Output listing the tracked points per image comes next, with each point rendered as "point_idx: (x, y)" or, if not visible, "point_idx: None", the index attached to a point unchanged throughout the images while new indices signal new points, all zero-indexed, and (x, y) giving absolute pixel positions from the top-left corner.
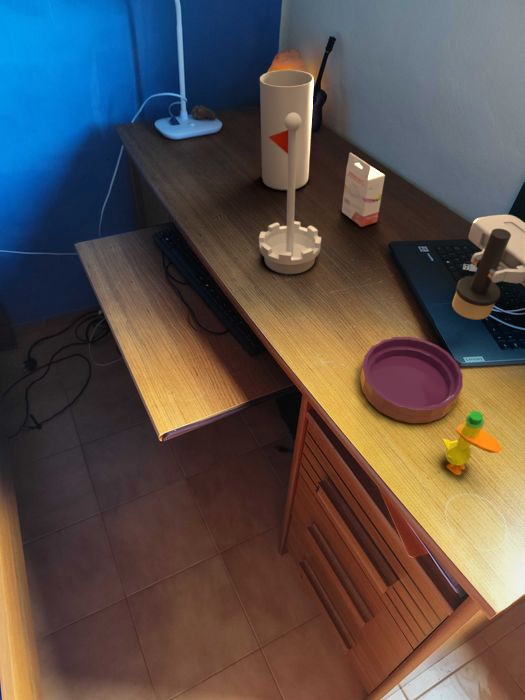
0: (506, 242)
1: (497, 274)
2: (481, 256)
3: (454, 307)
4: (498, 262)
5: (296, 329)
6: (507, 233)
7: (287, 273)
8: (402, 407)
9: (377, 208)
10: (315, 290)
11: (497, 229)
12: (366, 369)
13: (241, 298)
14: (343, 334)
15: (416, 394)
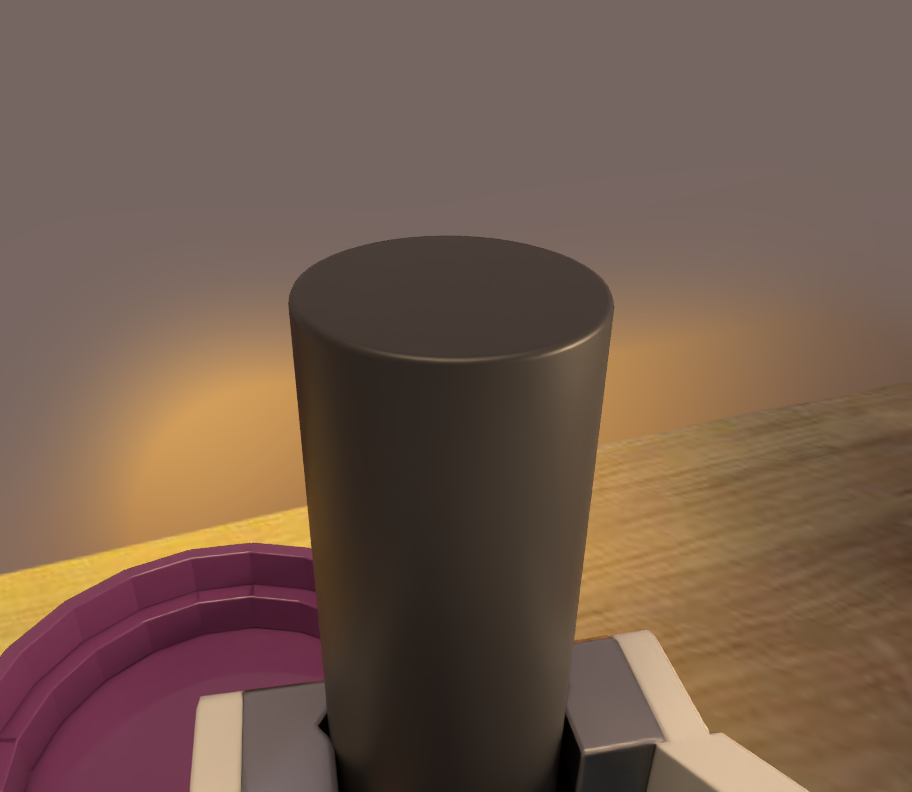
0: (297, 388)
1: (200, 703)
2: (581, 667)
3: None
4: (331, 697)
5: (616, 509)
6: (426, 327)
7: None
8: (54, 612)
9: None
10: (874, 593)
11: (581, 288)
12: (290, 554)
13: (762, 418)
14: (588, 629)
15: (151, 785)
